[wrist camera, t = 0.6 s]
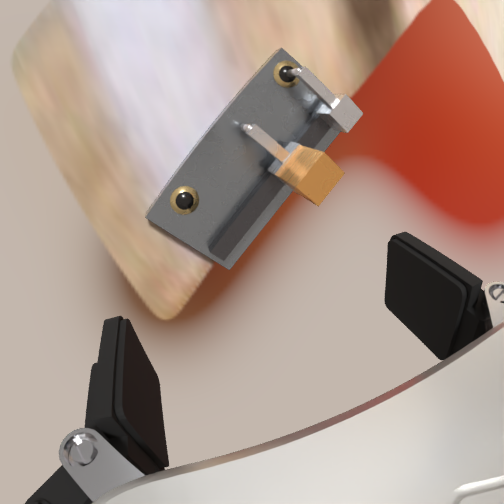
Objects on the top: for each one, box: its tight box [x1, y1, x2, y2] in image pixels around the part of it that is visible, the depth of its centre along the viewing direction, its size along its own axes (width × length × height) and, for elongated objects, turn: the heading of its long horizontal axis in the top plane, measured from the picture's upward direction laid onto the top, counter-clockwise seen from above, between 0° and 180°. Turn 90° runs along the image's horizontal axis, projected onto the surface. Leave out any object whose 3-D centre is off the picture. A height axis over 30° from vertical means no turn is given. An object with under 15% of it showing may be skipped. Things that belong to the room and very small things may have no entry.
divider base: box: [145, 48, 363, 270], centre depth 33 cm, size 24×12×6 cm, turn 141°
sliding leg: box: [239, 124, 344, 206], centre depth 30 cm, size 4×9×8 cm, turn 51°
